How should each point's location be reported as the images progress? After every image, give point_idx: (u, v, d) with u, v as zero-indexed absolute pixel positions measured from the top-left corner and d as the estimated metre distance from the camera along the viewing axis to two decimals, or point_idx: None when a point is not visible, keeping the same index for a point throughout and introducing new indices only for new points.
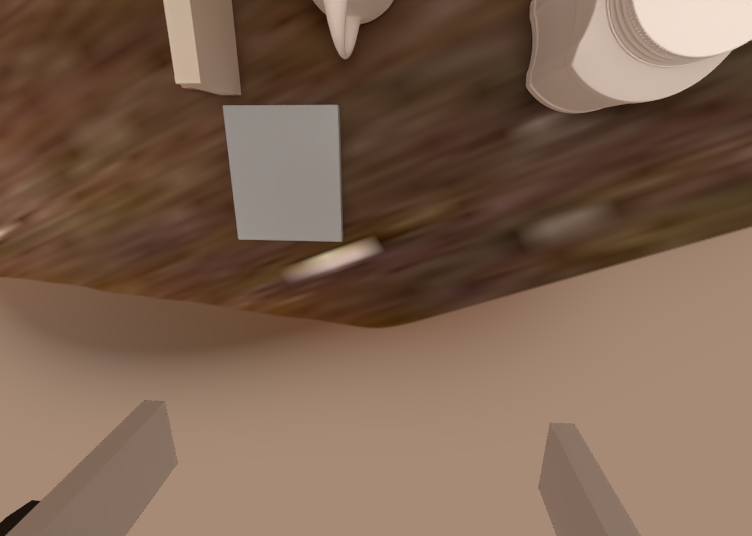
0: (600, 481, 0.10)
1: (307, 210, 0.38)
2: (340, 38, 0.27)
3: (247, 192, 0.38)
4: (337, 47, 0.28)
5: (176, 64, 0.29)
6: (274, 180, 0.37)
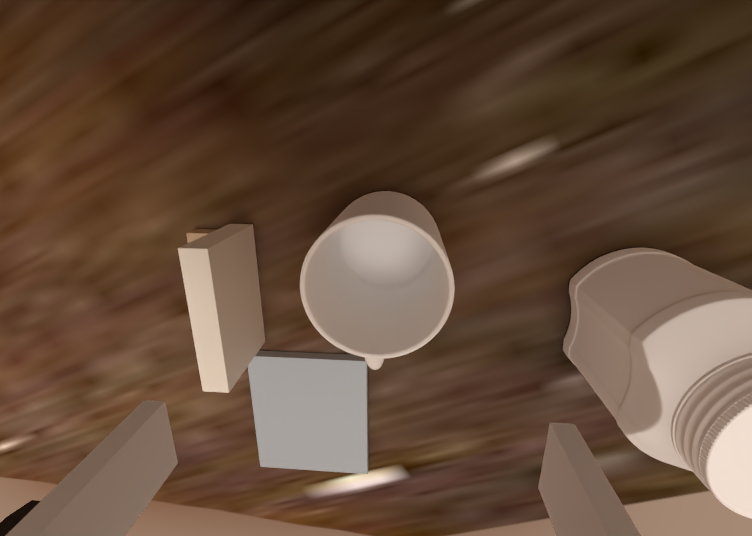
0: (600, 481, 0.10)
1: (332, 446, 0.37)
2: (377, 368, 0.26)
3: (270, 428, 0.37)
4: None
5: (203, 375, 0.27)
6: (299, 420, 0.36)
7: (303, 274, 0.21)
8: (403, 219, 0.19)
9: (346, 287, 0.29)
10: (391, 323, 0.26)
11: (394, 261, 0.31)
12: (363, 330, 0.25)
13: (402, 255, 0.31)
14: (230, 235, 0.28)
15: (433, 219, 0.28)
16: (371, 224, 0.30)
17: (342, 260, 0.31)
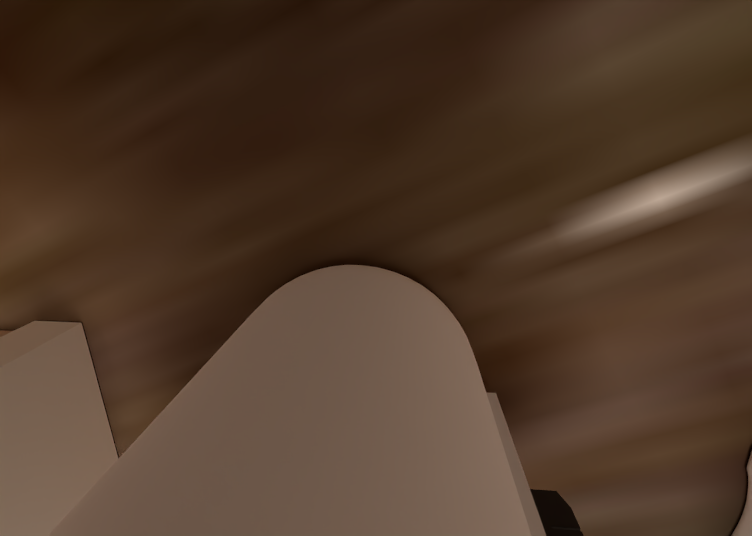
0: (504, 437, 0.11)
1: None
2: None
3: None
4: None
5: None
6: None
7: None
8: None
9: None
10: None
11: None
12: None
13: None
14: None
15: (465, 340, 0.12)
16: None
17: None
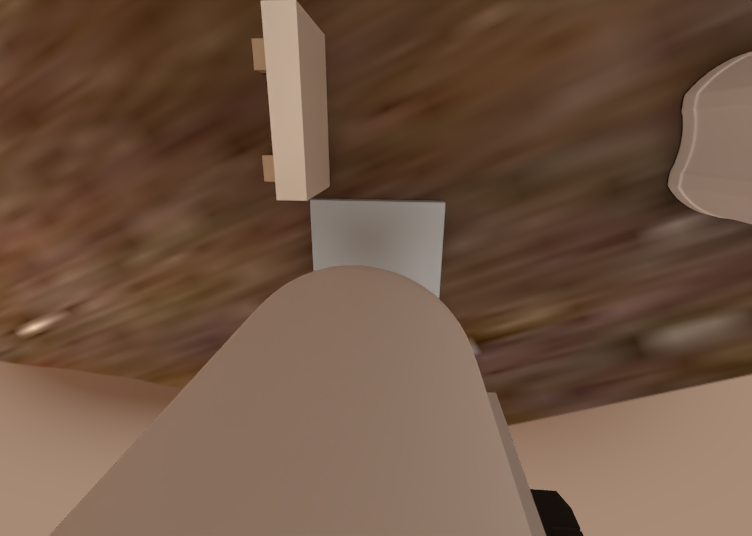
0: (504, 437, 0.11)
1: None
2: None
3: None
4: None
5: (279, 179, 0.24)
6: None
7: None
8: None
9: None
10: None
11: None
12: None
13: None
14: None
15: (466, 340, 0.12)
16: None
17: None
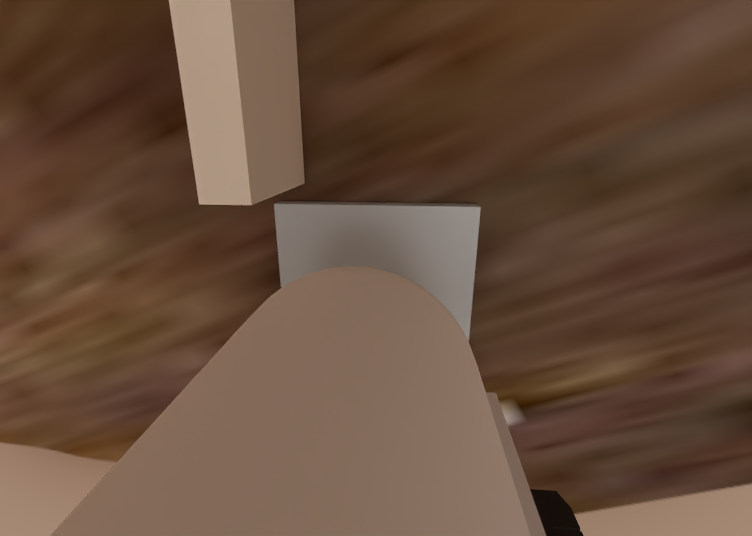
0: (504, 437, 0.11)
1: None
2: None
3: None
4: None
5: (201, 167, 0.13)
6: None
7: None
8: None
9: None
10: None
11: None
12: None
13: None
14: None
15: (465, 341, 0.12)
16: None
17: None
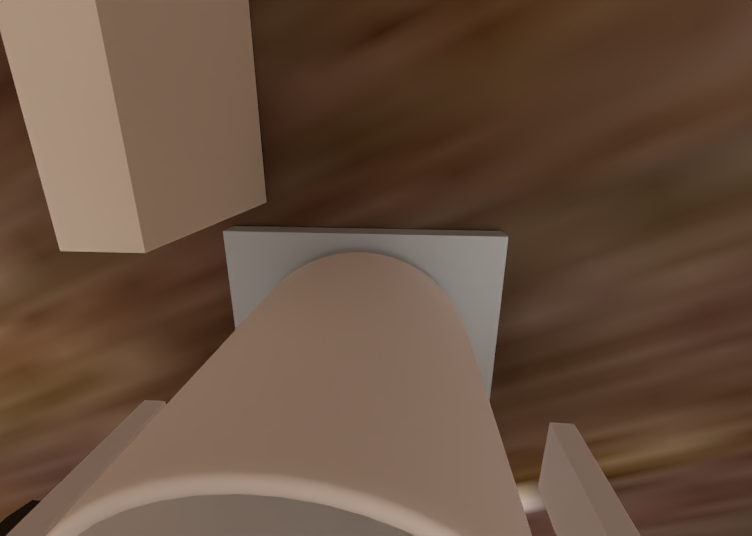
0: (600, 481, 0.10)
1: None
2: None
3: None
4: None
5: (55, 190, 0.08)
6: None
7: None
8: (380, 496, 0.05)
9: None
10: None
11: None
12: None
13: None
14: None
15: (459, 318, 0.13)
16: None
17: None
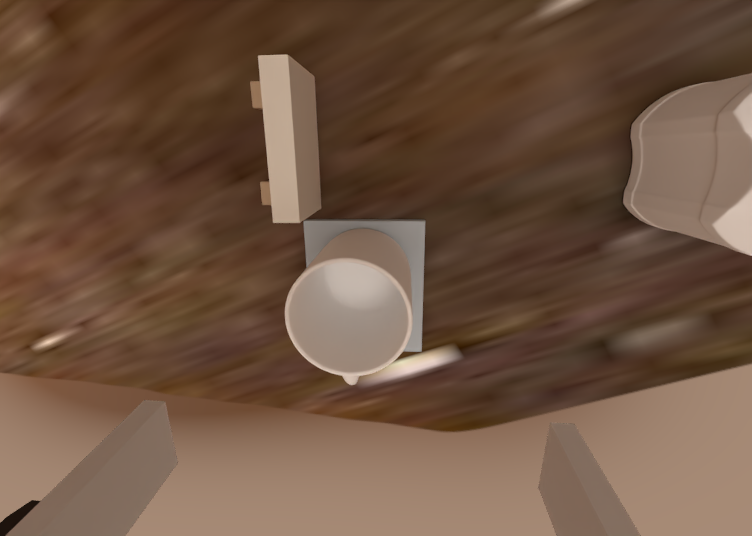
0: (600, 481, 0.10)
1: None
2: None
3: None
4: None
5: (275, 204, 0.27)
6: None
7: (287, 306, 0.25)
8: (368, 262, 0.24)
9: (329, 312, 0.33)
10: (366, 344, 0.30)
11: (371, 288, 0.35)
12: (340, 351, 0.29)
13: (378, 283, 0.35)
14: None
15: (403, 253, 0.32)
16: None
17: (326, 287, 0.35)
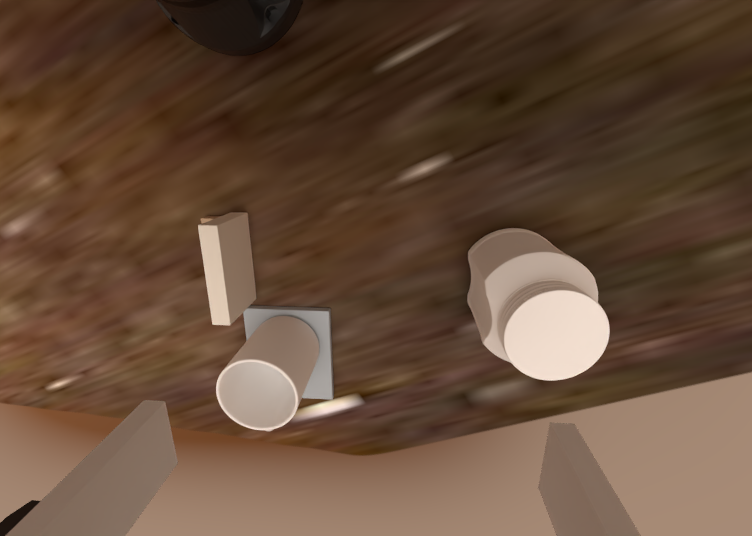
0: (600, 481, 0.10)
1: None
2: (270, 430, 0.43)
3: None
4: None
5: (213, 313, 0.41)
6: None
7: (217, 386, 0.38)
8: (267, 362, 0.37)
9: (259, 375, 0.47)
10: (279, 403, 0.43)
11: None
12: (259, 409, 0.42)
13: None
14: (231, 218, 0.41)
15: (310, 336, 0.46)
16: None
17: None
